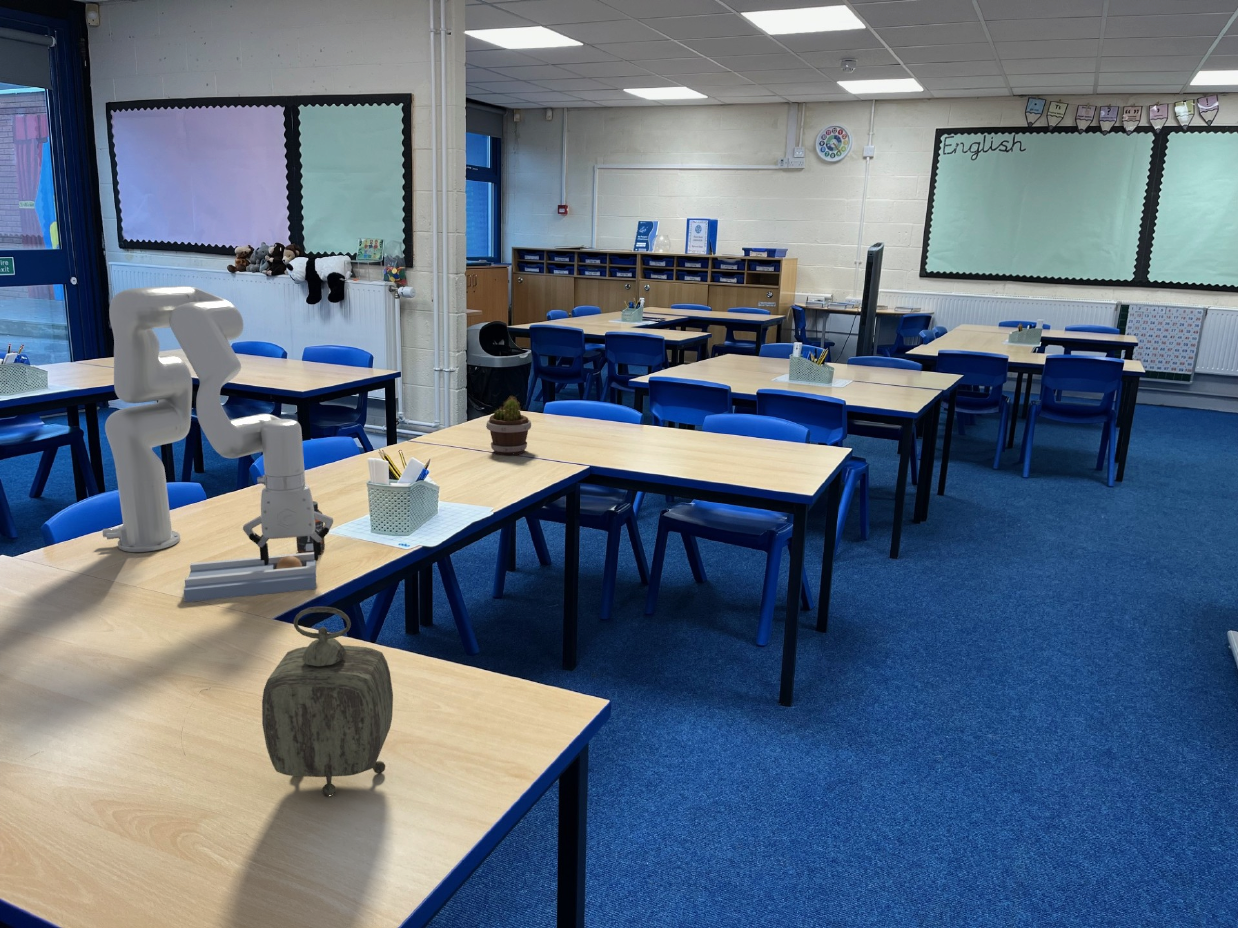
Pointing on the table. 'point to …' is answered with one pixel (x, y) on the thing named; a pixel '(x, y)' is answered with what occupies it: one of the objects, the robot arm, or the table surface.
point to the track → (248, 577)
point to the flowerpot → (509, 429)
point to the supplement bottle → (307, 541)
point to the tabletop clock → (327, 707)
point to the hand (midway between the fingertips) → (291, 560)
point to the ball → (288, 562)
